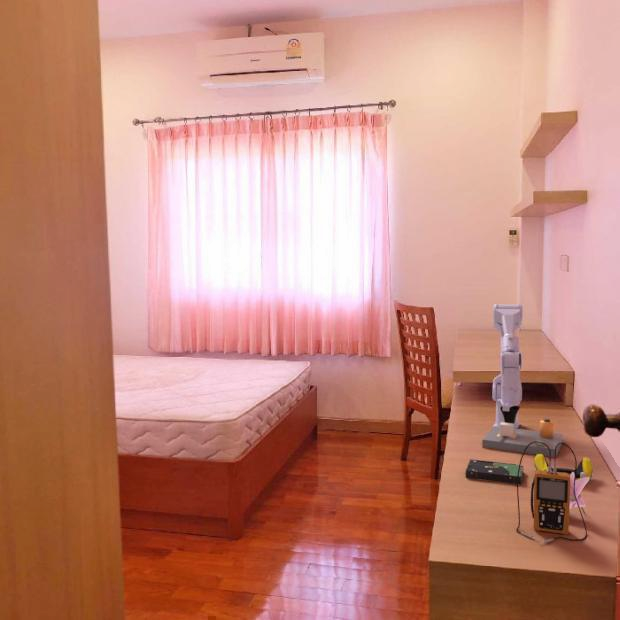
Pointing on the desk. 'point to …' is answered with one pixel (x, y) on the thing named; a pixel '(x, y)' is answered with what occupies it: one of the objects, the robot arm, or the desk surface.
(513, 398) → the robot arm
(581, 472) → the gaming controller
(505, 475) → the disk drive
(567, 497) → the multimeter
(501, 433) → the lever
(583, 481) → the lily
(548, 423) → the cap
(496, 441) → the panel
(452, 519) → the desk surface
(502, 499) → the desk surface
